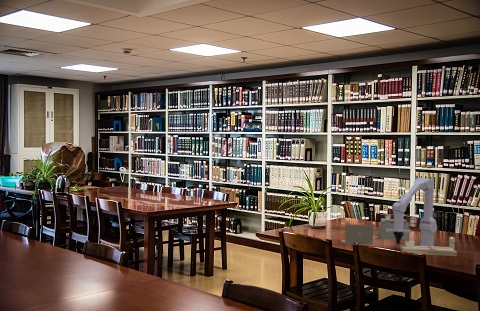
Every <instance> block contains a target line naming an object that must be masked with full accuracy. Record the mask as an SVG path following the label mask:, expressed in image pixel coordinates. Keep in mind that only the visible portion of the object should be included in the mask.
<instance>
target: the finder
mask: <svg viewBox="0 0 480 311" xmlns="http://www.w3.org/2000/svg"><path fill="white" fill-rule="evenodd" d="M403 245H405V246H406V247H414V246H415V241H414V240H409V239H408V240H404V243H403Z"/></svg>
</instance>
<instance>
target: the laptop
mask: <svg viewBox="0 0 480 311" xmlns="http://www.w3.org/2000/svg"><path fill="white" fill-rule="evenodd" d="M373 230H374V224H345V232H344V233H345V236H344V237H345V239H340V241H341V242H342V243H343V244H344V245H354V244H353V243H359V244H358V245H373V244H374V235H373V234H374V231H373Z"/></svg>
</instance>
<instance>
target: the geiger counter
mask: <svg viewBox="0 0 480 311" xmlns="http://www.w3.org/2000/svg"><path fill="white" fill-rule="evenodd" d="M378 225H379V226H378V227H376V228H373V232H375V230H377V229H378V233H373V236H376V237H378V239H379V240H395V241H396V238H395V236H394V233H393V232H386V229H394V218H380V222H379V224H378ZM403 229H407V230H410V223H409V222H408V220H407V219H404V222H403ZM395 232H398V231H395ZM409 234H410V233H403V236H402V238H401V240H402V241H403V240H404V241H405V240H409V239H410V238H409V236H410V235H409ZM401 240H400V241H401Z"/></svg>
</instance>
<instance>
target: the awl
mask: <svg viewBox="0 0 480 311" xmlns="http://www.w3.org/2000/svg"><path fill="white" fill-rule="evenodd" d="M448 244H449V245H448V247H451V248H452V249H454V250H455V244H456V237H455V236H449V237H448Z"/></svg>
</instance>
